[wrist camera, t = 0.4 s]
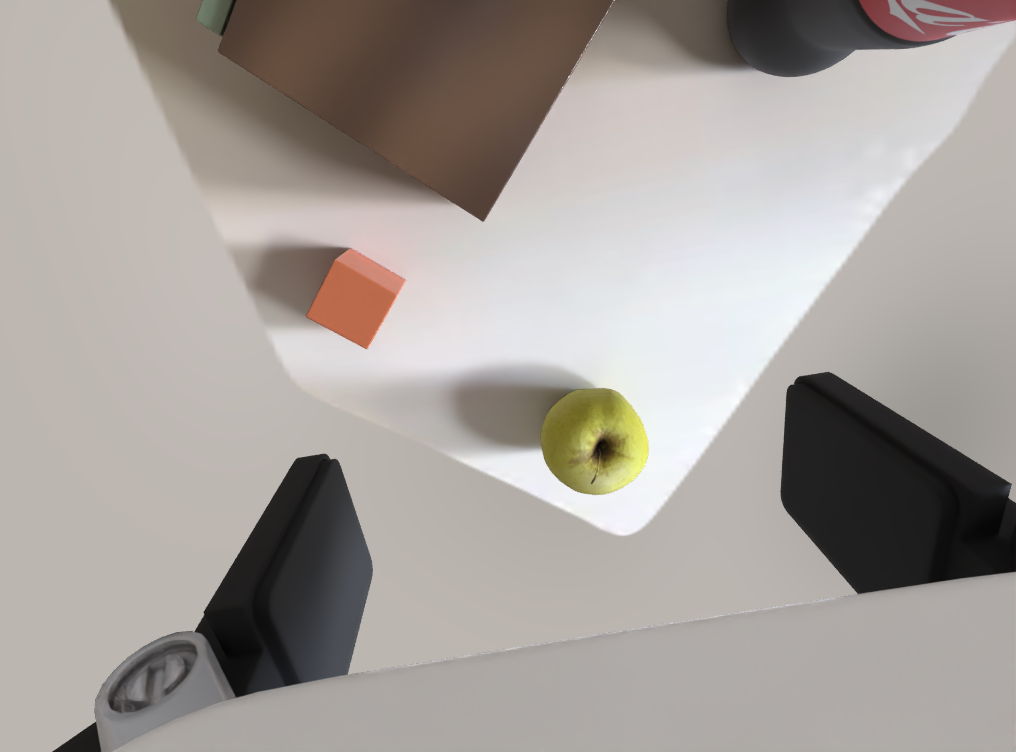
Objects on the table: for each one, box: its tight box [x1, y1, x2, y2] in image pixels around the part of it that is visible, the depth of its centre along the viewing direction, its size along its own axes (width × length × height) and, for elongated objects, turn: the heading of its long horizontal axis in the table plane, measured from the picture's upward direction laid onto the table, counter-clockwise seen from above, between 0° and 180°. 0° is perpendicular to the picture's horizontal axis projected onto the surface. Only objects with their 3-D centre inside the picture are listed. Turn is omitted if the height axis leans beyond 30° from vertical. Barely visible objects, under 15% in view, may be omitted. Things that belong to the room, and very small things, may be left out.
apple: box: [541, 388, 649, 495], centre depth 40 cm, size 8×8×10 cm
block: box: [306, 248, 406, 349], centre depth 37 cm, size 4×4×4 cm
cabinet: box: [218, 0, 615, 222], centre depth 29 cm, size 15×13×10 cm
